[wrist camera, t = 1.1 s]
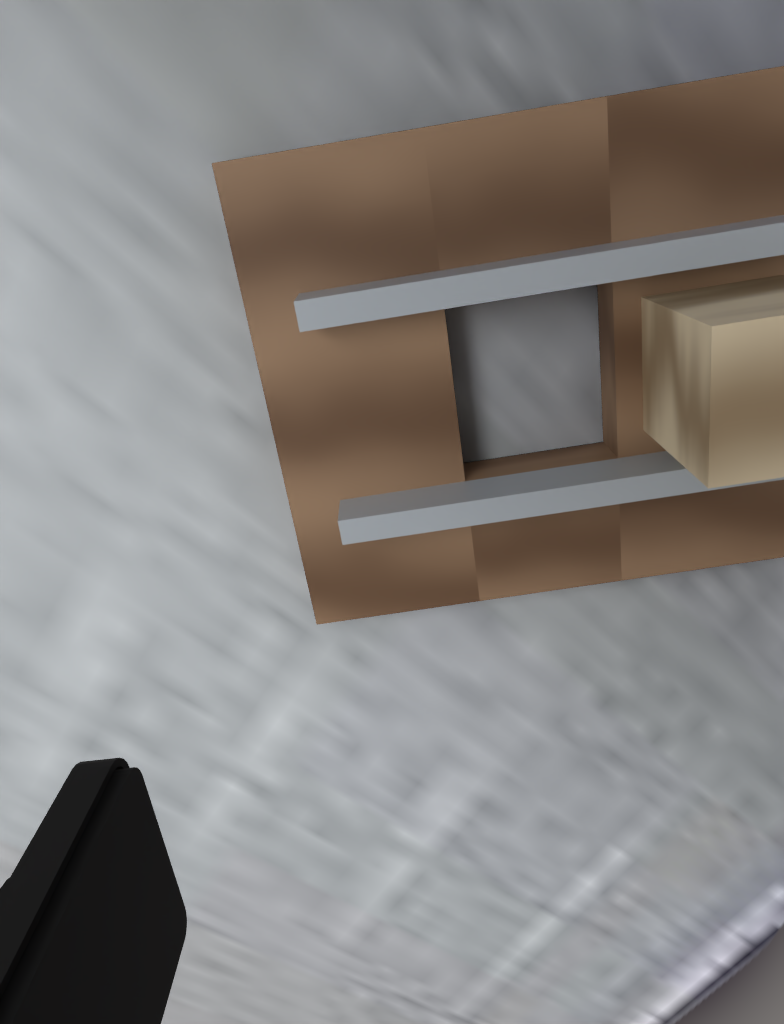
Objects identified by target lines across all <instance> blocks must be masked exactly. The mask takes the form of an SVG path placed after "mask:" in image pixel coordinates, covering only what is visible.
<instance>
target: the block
mask: <svg viewBox="0 0 784 1024" xmlns="http://www.w3.org/2000/svg"><path fill="white" fill-rule="evenodd" d="M641 310H642V375H643V430H644V431H645V432H646V433H647V434H648V435H649V436H651V437H652V438H653V439H654V440H655V441H656V442H657V443H658V444H659V445H661V446H662V447H663V448H664V449H665V450H666V451H667V452H668V453H669V454H671V455H672V456H673V457H674V458H675V459H676V460H677V461H678V462H679V463H681V464H682V465H683V466H684V467H685V468H686V469H687V470H688V471H689V472H691V473H692V474H693V475H694V476H695V477H696V478H697V479H698V480H699V481H700V482H702V483H703V484H704V485H705V486H706V487H707V488H715V487H722V486H728V485H735V484H742V483H749V482H755V481H762V480H769V479H776V478H782V477H784V275H777V276H771V277H765V278H758V279H752V280H746V281H740V282H733V283H727V284H721V285H714V286H708V287H702V288H696V289H689V290H683V291H677V292H670V293H664V294H658V295H652V296H645V297H641Z"/></svg>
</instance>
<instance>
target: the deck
mask: <svg viewBox="0 0 784 1024" xmlns="http://www.w3.org/2000/svg"><path fill="white" fill-rule="evenodd" d="M212 167H213V171H214V176H215V180H216V184H217V189H218V193H219V198H220V202H221V206H222V211H223V215H224V220H225V224H226V228H227V233H228V237H229V241H230V246H231V250H232V255H233V259H234V263H235V268H236V272H237V277H238V281H239V285H240V290H241V294H242V298H243V303H244V307H245V312H246V316H247V320H248V325H249V329H250V334H251V338H252V342H253V347H254V351H255V355H256V360H257V364H258V369H259V373H260V377H261V382H262V386H263V391H264V395H265V399H266V404H267V408H268V412H269V417H270V421H271V426H272V430H273V434H274V439H275V443H276V448H277V452H278V456H279V461H280V465H281V469H282V474H283V478H284V483H285V487H286V491H287V496H288V500H289V505H290V509H291V513H292V518H293V522H294V527H295V531H296V535H297V540H298V544H299V548H300V553H301V557H302V562H303V566H304V570H305V575H306V579H307V584H308V588H309V592H310V597H311V601H312V605H313V610H314V614H315V619H316V623H317V624H323V623H330V622H337V621H344V620H351V619H358V618H365V617H372V616H379V615H386V614H393V613H400V612H406V611H413V610H420V609H427V608H434V607H441V606H448V605H455V604H462V603H469V602H476V601H483V600H490V599H497V598H503V597H510V596H517V595H524V594H531V593H538V592H545V591H552V590H559V589H566V588H573V587H580V586H587V585H594V584H600V583H607V582H614V581H621V580H628V579H635V578H642V577H649V576H656V575H663V574H670V573H677V572H684V571H691V570H697V569H704V568H711V567H718V566H725V565H732V564H739V563H746V562H753V561H760V560H767V559H774V558H781V557H784V480H777V481H770V482H764V483H757V484H750V485H743V486H737V487H730V488H723V489H717V490H710V491H703V492H696V493H690V494H683V495H676V496H669V497H663V498H656V499H649V500H642V501H636V502H629V503H622V504H615V505H609V506H602V507H595V508H589V509H582V510H575V511H568V512H562V513H555V514H548V515H541V516H535V517H528V518H521V519H514V520H508V521H501V522H494V523H487V524H481V525H474V526H467V527H460V528H454V529H447V530H440V531H434V532H427V533H420V534H413V535H407V536H400V537H393V538H386V539H380V540H373V541H366V542H359V543H353V544H346V545H342V540H341V535H340V530H339V525H338V514H339V504H340V500H344V499H351V498H358V497H364V496H371V495H378V494H384V493H391V492H397V491H404V490H411V489H417V488H424V487H431V486H437V485H444V484H450V483H457V482H464V481H470V480H477V479H484V478H490V477H497V476H504V475H510V474H517V473H523V472H530V471H537V470H543V469H550V468H557V467H563V466H570V465H576V464H583V463H590V462H596V461H603V460H610V459H616V458H623V457H629V456H636V455H643V454H649V453H656V452H663V451H666V450H665V449H664V448H663V447H662V446H661V445H659V444H658V443H657V442H656V441H655V440H654V439H653V438H652V437H651V436H649V435H648V434H647V433H646V432H645V431H644V430H643V375H642V310H641V297H645V296H652V295H658V294H664V293H670V292H677V291H683V290H689V289H696V288H702V287H708V286H714V285H721V284H727V283H733V282H740V281H746V280H752V279H758V278H765V277H771V276H777V275H784V255H779V256H772V257H766V258H760V259H754V260H748V261H741V262H735V263H729V264H723V265H716V266H710V267H704V268H698V269H691V270H685V271H679V272H673V273H666V274H660V275H654V276H648V277H641V278H635V279H629V280H623V281H616V282H610V283H604V284H598V285H597V290H598V316H599V341H600V367H601V393H602V419H603V442H600V443H593V444H587V445H580V446H574V447H567V448H560V449H554V450H547V451H541V452H534V453H528V454H521V455H514V456H508V457H501V458H495V459H488V460H481V461H475V462H468V463H463V458H462V450H461V442H460V433H459V425H458V417H457V409H456V400H455V392H454V384H453V376H452V367H451V359H450V351H449V343H448V334H447V326H446V318H445V309H442V310H435V311H429V312H423V313H417V314H410V315H404V316H398V317H392V318H385V319H379V320H373V321H367V322H361V323H354V324H348V325H342V326H336V327H329V328H323V329H317V330H311V331H304V332H300V331H299V326H298V321H297V316H296V311H295V306H294V300H295V299H296V297H297V296H298V294H299V293H306V292H312V291H318V290H324V289H330V288H336V287H342V286H349V285H355V284H361V283H367V282H373V281H379V280H386V279H392V278H398V277H404V276H410V275H416V274H423V273H429V272H435V271H441V270H447V269H453V268H460V267H466V266H472V265H478V264H484V263H490V262H497V261H503V260H509V259H515V258H521V257H527V256H533V255H540V254H546V253H552V252H558V251H564V250H570V249H577V248H583V247H589V246H595V245H601V244H607V243H614V242H620V241H626V240H632V239H638V238H644V237H651V236H657V235H663V234H669V233H675V232H681V231H688V230H694V229H700V228H706V227H712V226H718V225H725V224H731V223H737V222H743V221H749V220H755V219H761V218H768V217H774V216H780V215H784V66H781V67H775V68H769V69H764V70H758V71H752V72H746V73H740V74H734V75H728V76H722V77H717V78H711V79H705V80H699V81H693V82H687V83H681V84H675V85H670V86H664V87H658V88H652V89H646V90H640V91H634V92H628V93H622V94H617V95H611V96H605V97H599V98H593V99H587V100H581V101H575V102H570V103H564V104H558V105H552V106H546V107H540V108H534V109H528V110H523V111H517V112H511V113H505V114H499V115H493V116H487V117H481V118H476V119H470V120H464V121H458V122H452V123H446V124H440V125H434V126H428V127H423V128H417V129H411V130H405V131H399V132H393V133H387V134H381V135H376V136H370V137H364V138H358V139H352V140H346V141H340V142H334V143H329V144H323V145H317V146H311V147H305V148H299V149H293V150H287V151H282V152H276V153H270V154H264V155H258V156H252V157H246V158H240V159H234V160H229V161H223V162H217V163H212Z"/></svg>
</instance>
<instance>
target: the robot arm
mask: <svg viewBox="0 0 784 1024" xmlns="http://www.w3.org/2000/svg"><path fill="white" fill-rule="evenodd" d="M186 928H187V917H186V910H185V906H184V903H183V900H182V896H181V893H180V890H179V887H178V884H177V881H176V878H175V875H174V872H173V869H172V866H171V862H170V859H169V856H168V853H167V850H166V847H165V844H164V841H163V838H162V835H161V831H160V828H159V825H158V822H157V819H156V816H155V813H154V810H153V807H152V804H151V800H150V797H149V794H148V791H147V788H146V785H145V782H144V779H143V776H142V773H141V771H140V770H139V769H138V768H135V767H134V768H129V766H128V763H127V762H126V761H125V760H124V759H122V758H114V759H104V760H95V761H85V762H80V763H78V764H76V765H75V767H74V768H73V769H72V771H71V772H70V774H69V776H68V778H67V779H66V781H65V783H64V784H63V786H62V788H61V790H60V791H59V793H58V795H57V797H56V798H55V800H54V802H53V804H52V805H51V807H50V809H49V811H48V812H47V814H46V816H45V818H44V819H43V821H42V823H41V825H40V826H39V828H38V830H37V832H36V833H35V835H34V837H33V839H32V840H31V842H30V844H29V846H28V847H27V849H26V851H25V853H24V854H23V856H22V858H21V859H20V861H19V863H18V865H17V866H16V868H15V870H14V872H13V873H12V875H11V877H10V878H9V879H7V880H6V882H5V883H4V884H3V886H2V887H1V888H0V1024H161V1021H162V1018H163V1014H164V1011H165V1007H166V1004H167V1000H168V997H169V993H170V990H171V986H172V983H173V979H174V976H175V972H176V969H177V965H178V961H179V958H180V954H181V951H182V947H183V944H184V940H185V936H186Z"/></svg>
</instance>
